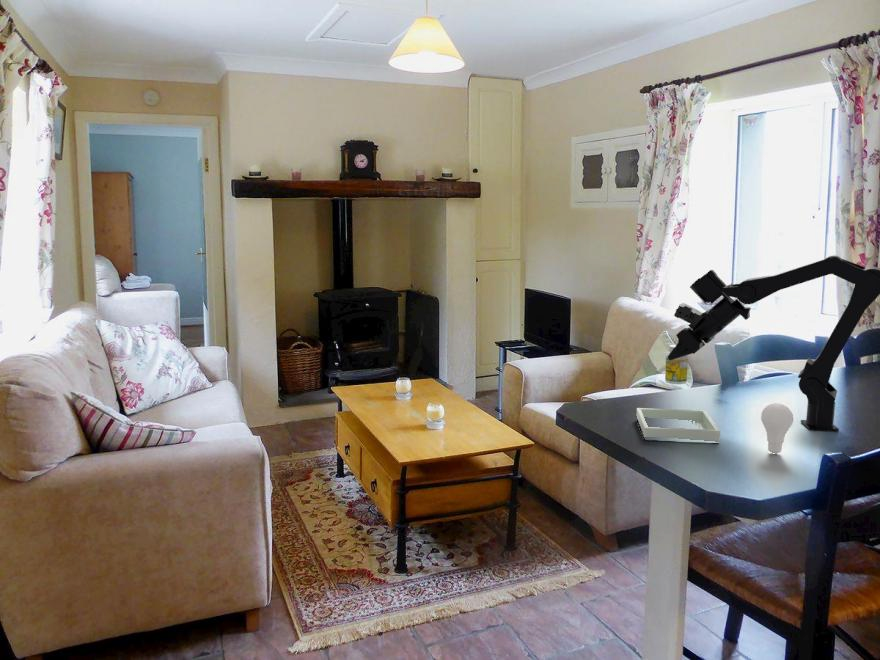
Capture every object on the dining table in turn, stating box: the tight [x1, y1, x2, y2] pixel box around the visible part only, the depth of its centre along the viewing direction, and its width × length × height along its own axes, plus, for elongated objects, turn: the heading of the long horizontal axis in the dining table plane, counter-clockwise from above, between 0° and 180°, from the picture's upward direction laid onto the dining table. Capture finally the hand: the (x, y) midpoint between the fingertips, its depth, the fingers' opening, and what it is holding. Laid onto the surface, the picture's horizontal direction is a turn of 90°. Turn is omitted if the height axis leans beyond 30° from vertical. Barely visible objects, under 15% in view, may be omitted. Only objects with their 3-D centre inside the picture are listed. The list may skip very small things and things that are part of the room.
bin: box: [636, 407, 721, 443], centre depth 165 cm, size 16×16×3 cm
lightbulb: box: [760, 402, 794, 454], centre depth 149 cm, size 6×6×11 cm
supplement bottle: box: [664, 344, 689, 385], centre depth 184 cm, size 5×5×10 cm
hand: (671, 356), depth 184 cm, fingers closed on supplement bottle, 5 cm apart
